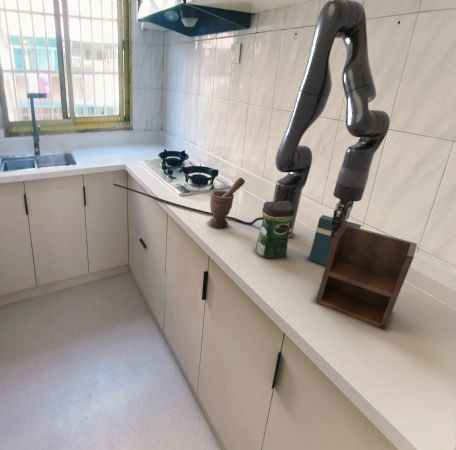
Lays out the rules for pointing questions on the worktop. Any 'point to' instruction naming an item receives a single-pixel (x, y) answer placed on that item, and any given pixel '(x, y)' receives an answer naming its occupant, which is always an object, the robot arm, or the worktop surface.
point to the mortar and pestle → (222, 204)
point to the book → (324, 239)
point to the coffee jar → (275, 229)
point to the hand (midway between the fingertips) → (335, 235)
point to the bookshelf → (365, 274)
